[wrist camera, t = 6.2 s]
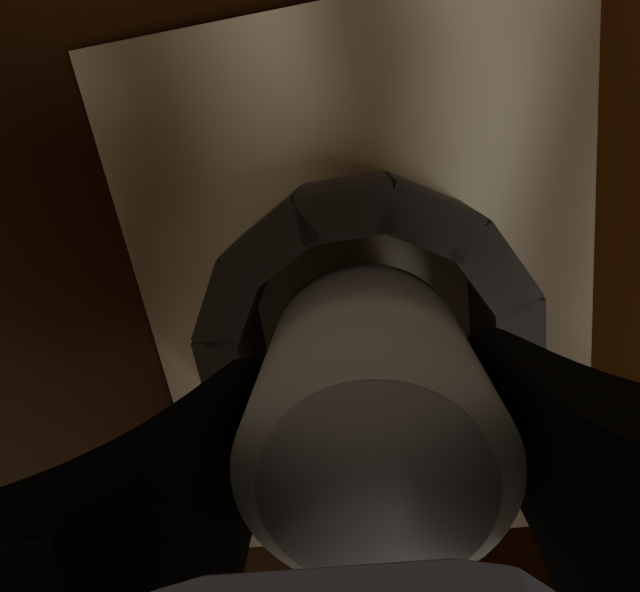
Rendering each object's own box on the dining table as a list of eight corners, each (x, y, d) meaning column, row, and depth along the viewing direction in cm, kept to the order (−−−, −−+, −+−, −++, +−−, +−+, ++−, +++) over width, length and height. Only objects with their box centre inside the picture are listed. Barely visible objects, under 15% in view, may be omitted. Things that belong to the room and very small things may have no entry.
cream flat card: (583, -43, 12) (685, -119, 9) (574, 501, 18) (633, 599, 14) (87, 56, 14) (-11, 28, 10) (223, 529, 20) (193, 624, 16)
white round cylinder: (453, 249, 12) (532, 340, 7) (465, 421, 13) (536, 601, 8) (257, 277, 12) (192, 380, 7) (291, 439, 14) (258, 617, 9)
